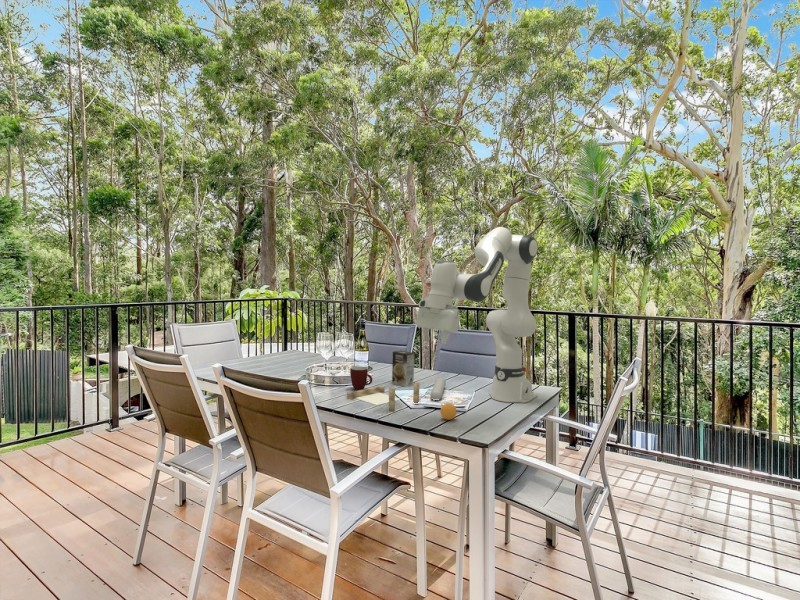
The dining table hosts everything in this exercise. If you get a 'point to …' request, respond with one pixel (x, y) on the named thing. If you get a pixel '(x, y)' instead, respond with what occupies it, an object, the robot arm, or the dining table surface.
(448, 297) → the robot arm
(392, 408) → the post
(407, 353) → the coffee box
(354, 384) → the mug
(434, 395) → the tube
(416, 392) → the post
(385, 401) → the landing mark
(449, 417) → the ball
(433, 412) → the dining table surface
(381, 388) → the stopper wall
